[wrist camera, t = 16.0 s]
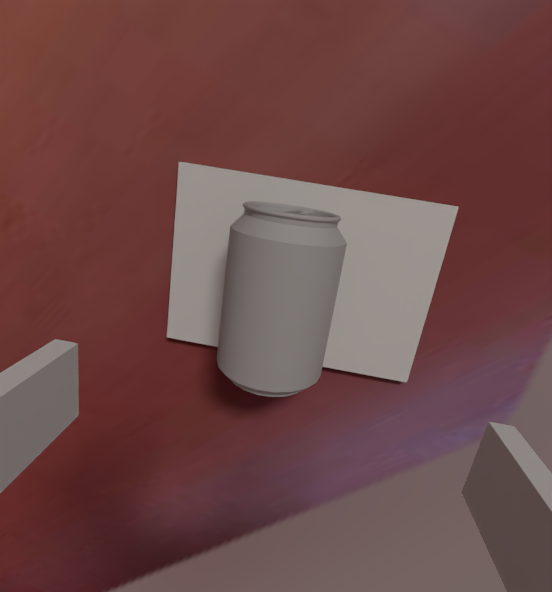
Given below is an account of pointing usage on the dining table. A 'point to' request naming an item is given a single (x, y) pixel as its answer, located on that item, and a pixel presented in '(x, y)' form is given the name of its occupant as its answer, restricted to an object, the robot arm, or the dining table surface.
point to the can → (279, 297)
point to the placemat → (355, 271)
